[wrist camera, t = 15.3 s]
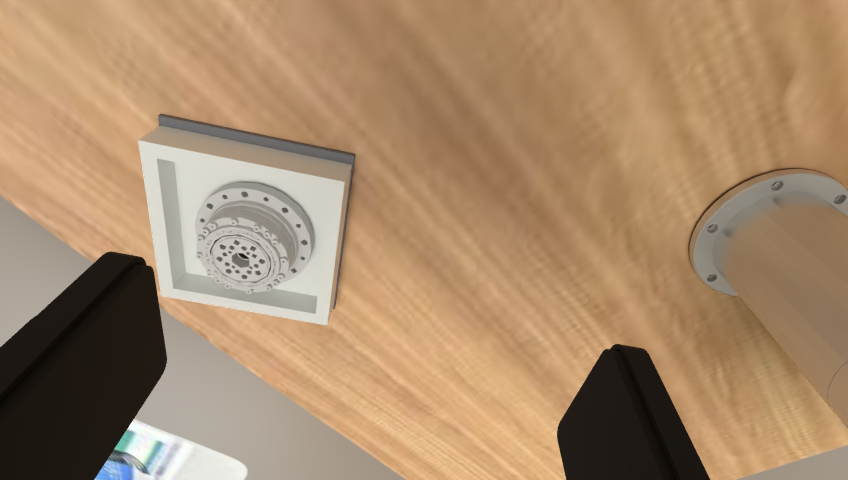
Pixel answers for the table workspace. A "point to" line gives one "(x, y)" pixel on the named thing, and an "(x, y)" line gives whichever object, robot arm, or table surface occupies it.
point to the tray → (228, 164)
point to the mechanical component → (252, 237)
